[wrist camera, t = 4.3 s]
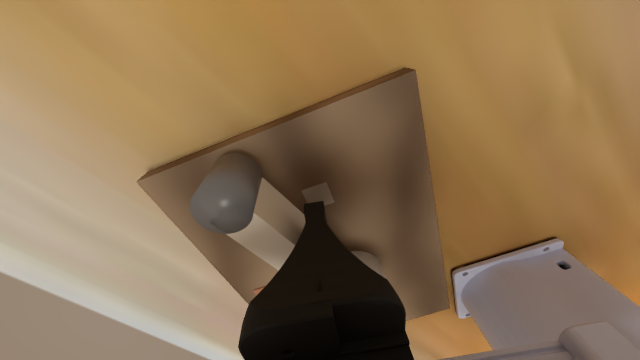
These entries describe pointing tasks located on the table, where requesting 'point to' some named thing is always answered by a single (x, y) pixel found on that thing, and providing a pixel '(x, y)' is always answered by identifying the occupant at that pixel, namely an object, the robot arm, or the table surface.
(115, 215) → the table surface
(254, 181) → the coupling lever
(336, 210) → the base
